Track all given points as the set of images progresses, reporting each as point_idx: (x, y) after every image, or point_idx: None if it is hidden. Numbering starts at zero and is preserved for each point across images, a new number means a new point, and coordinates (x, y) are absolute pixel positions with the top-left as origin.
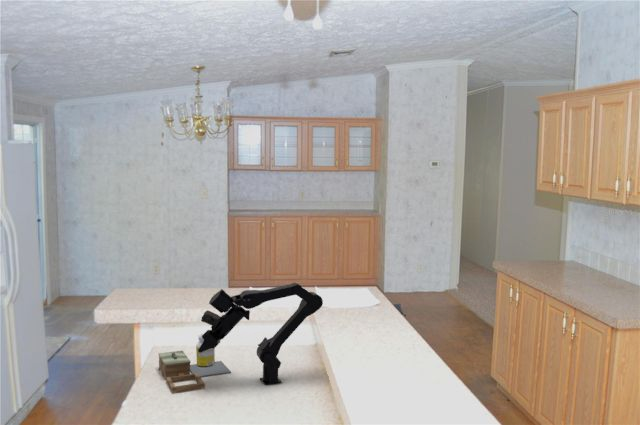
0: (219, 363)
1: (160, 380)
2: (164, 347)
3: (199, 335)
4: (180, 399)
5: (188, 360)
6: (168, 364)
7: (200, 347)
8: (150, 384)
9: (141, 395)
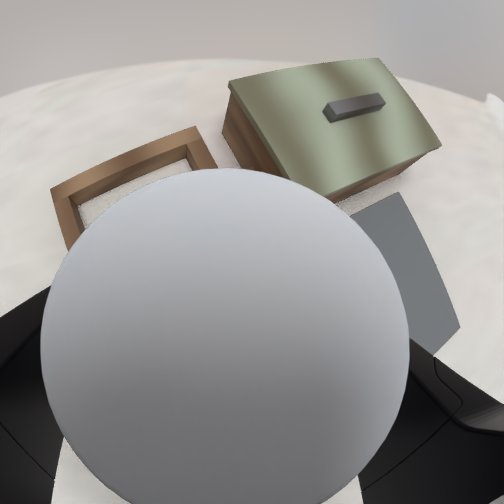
0: (438, 331)
1: (222, 114)
2: (489, 118)
3: (246, 184)
4: (3, 252)
5: (320, 187)
6: (236, 94)
7: (37, 302)
8: (175, 91)
9: (66, 97)
